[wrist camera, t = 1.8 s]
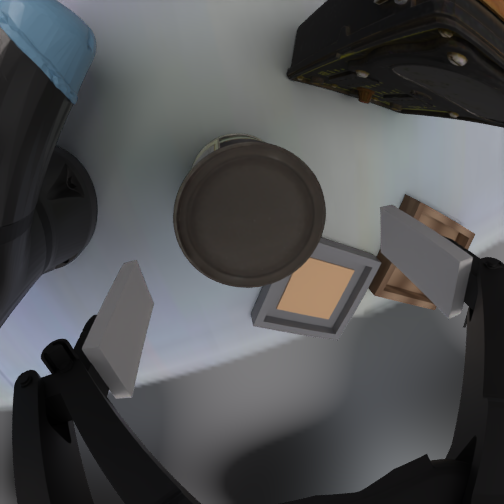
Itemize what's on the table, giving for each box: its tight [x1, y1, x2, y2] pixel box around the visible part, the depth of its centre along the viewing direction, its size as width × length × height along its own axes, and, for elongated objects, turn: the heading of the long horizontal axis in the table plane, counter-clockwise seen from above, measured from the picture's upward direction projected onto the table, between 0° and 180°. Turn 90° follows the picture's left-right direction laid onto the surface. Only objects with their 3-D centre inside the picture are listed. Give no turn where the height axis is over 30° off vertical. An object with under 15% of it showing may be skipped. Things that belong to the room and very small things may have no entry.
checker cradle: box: [251, 237, 381, 340], centre depth 38 cm, size 13×13×2 cm
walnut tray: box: [369, 194, 475, 310], centre depth 38 cm, size 14×14×4 cm
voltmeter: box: [287, 0, 504, 128], centre depth 17 cm, size 16×9×25 cm, turn 81°
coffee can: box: [173, 134, 326, 288], centre depth 26 cm, size 10×10×14 cm
